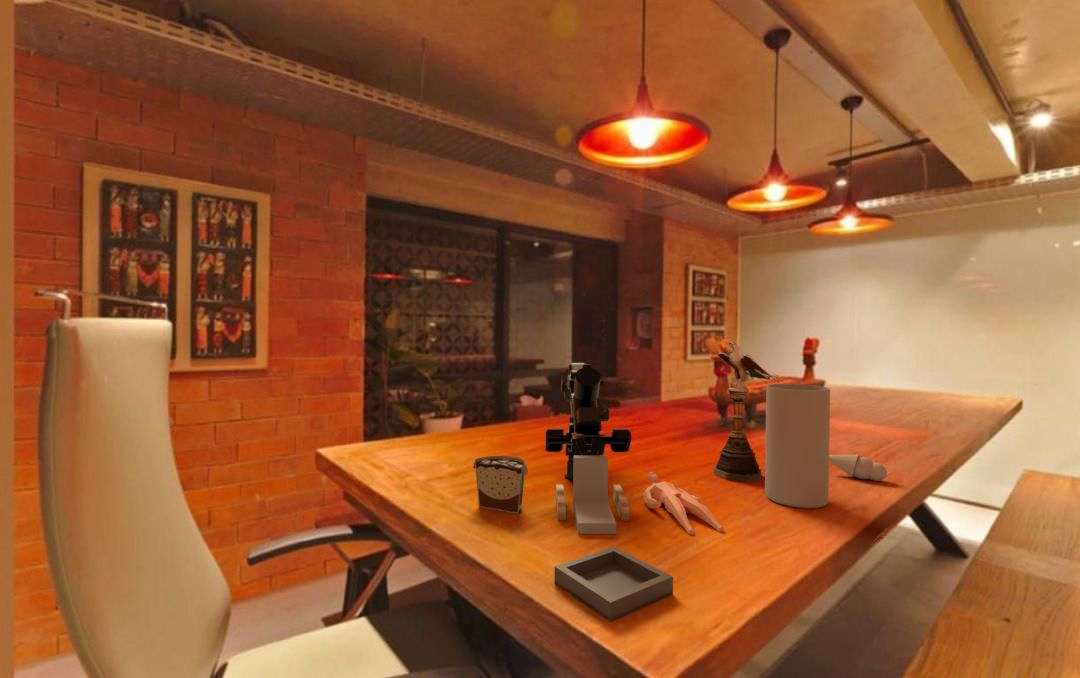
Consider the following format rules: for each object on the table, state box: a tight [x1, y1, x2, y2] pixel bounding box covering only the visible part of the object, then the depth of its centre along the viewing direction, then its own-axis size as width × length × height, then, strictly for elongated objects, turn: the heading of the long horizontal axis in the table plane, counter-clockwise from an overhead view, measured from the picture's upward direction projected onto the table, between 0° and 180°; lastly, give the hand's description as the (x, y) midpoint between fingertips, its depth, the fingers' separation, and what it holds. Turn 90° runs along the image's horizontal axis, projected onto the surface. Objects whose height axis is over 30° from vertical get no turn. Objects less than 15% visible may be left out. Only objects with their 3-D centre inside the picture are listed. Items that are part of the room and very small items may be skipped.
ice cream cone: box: [829, 453, 888, 482], centre depth 129 cm, size 6×6×15 cm
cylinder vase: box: [764, 383, 831, 509], centre depth 112 cm, size 12×12×25 cm
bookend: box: [572, 455, 617, 535], centre depth 99 cm, size 14×7×11 cm, turn 0°
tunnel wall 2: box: [612, 483, 630, 522], centre depth 105 cm, size 12×2×4 cm, turn 0°
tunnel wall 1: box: [555, 483, 567, 521], centre depth 105 cm, size 12×2×4 cm, turn 0°
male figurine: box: [643, 471, 725, 535], centre depth 105 cm, size 11×5×25 cm
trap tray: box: [554, 546, 674, 622], centre depth 73 cm, size 12×12×2 cm
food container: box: [472, 455, 529, 515], centre depth 107 cm, size 12×6×10 cm, turn 65°
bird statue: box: [713, 341, 780, 483], centre depth 132 cm, size 17×13×35 cm
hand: (590, 474), depth 106 cm, fingers closed, pressing on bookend
